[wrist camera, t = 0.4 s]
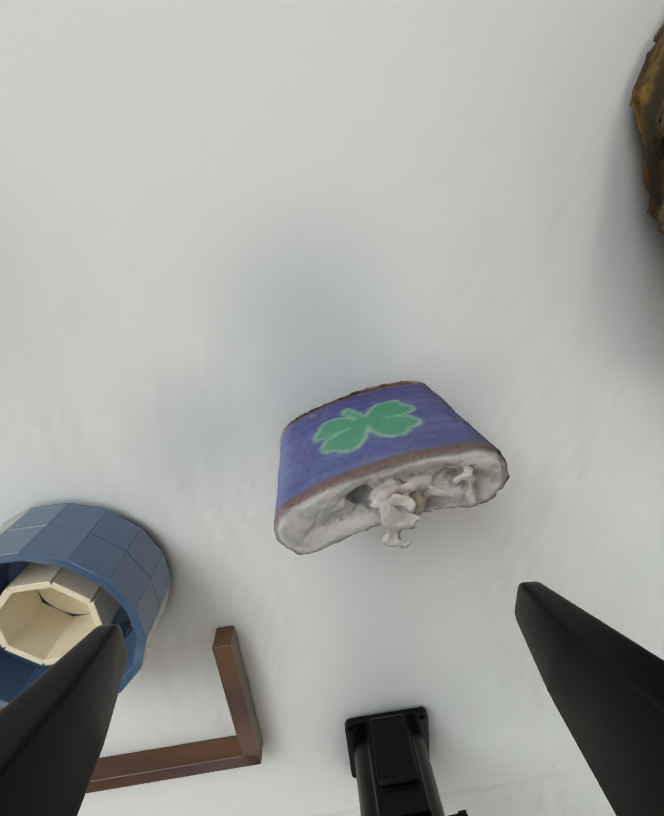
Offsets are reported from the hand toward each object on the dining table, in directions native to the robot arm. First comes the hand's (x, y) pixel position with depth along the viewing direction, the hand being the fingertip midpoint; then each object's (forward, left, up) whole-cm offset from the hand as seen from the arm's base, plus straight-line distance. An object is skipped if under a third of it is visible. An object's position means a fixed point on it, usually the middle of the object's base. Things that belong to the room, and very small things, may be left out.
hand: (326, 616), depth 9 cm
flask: (-1, -3, -14) cm, 15 cm away
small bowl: (-9, +15, -14) cm, 22 cm away
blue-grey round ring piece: (-9, +15, -14) cm, 23 cm away
